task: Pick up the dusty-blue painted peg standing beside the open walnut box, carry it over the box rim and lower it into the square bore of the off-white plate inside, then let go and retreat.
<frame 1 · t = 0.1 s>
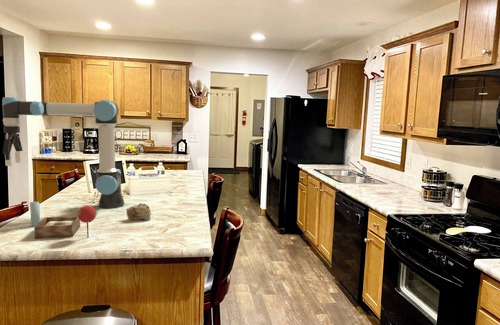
hand: (13, 164, 211), 28 cm above the countertop, fingers open, 13 cm apart
rock: (139, 219, 209), on the countertop
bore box: (58, 232, 183), on the countertop
lollipop: (87, 238, 176), on the countertop
peg: (35, 225, 192), on the countertop
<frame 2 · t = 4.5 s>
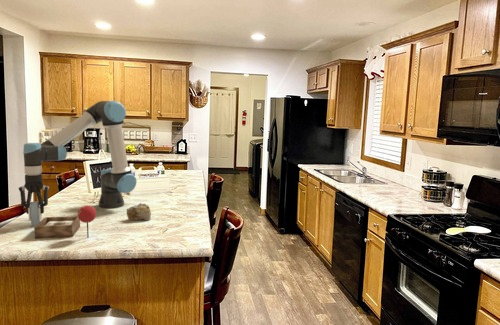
hand: (35, 219, 192), 3 cm above the countertop, fingers closed on peg, 4 cm apart
peg: (35, 225, 192), on the countertop, touching gripper
everything else where it was.
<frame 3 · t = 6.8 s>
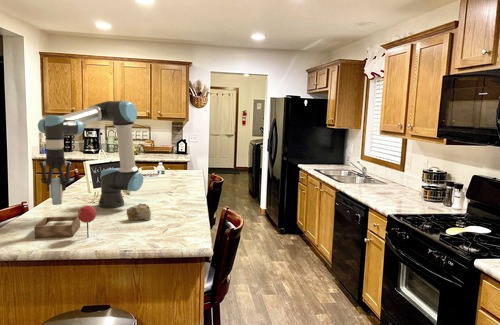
hand: (56, 197, 181), 17 cm above the countertop, fingers closed on peg, 4 cm apart
peg: (57, 203, 181), point 14 cm above the countertop, touching gripper
everything else where it was.
when the fingers open (6 cm above the countertop, at t = 9.1 s): peg drops 1 cm, resting on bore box.
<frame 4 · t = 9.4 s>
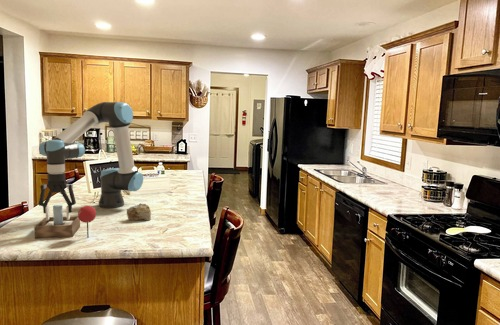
hand: (58, 219, 182), 6 cm above the countertop, fingers open, 8 cm apart
peg: (58, 230, 183), point 1 cm above the countertop, touching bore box
everything else where it was.
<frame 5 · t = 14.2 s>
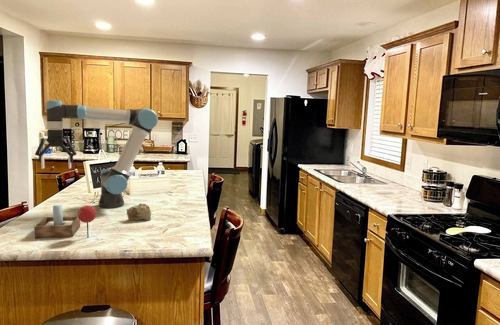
hand: (56, 168, 208), 27 cm above the countertop, fingers open, 13 cm apart
nothing on the countertop moved.
at the end: peg 0.0 cm off-centre on the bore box, point 1.0 cm above the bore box's base; peg tilted 0°; the gripper is holding nothing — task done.
